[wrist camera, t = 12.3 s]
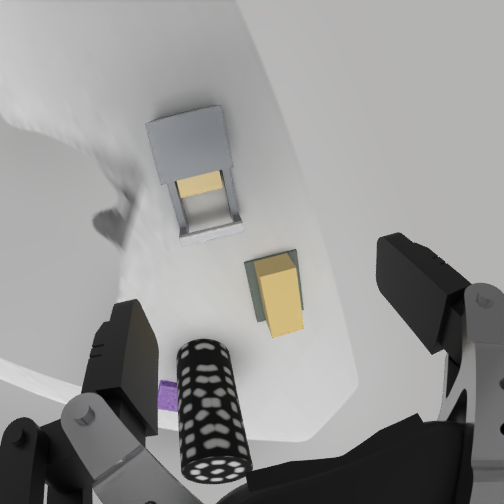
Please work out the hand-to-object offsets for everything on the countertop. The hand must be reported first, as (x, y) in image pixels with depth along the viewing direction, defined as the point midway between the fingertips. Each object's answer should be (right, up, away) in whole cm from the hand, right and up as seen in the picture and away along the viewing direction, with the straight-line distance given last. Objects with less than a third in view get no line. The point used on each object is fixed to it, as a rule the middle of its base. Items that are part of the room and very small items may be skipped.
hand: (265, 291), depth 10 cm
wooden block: (+3, -4, +34) cm, 35 cm away
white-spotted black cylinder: (-8, -15, +39) cm, 42 cm away
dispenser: (-7, +11, +26) cm, 29 cm away
